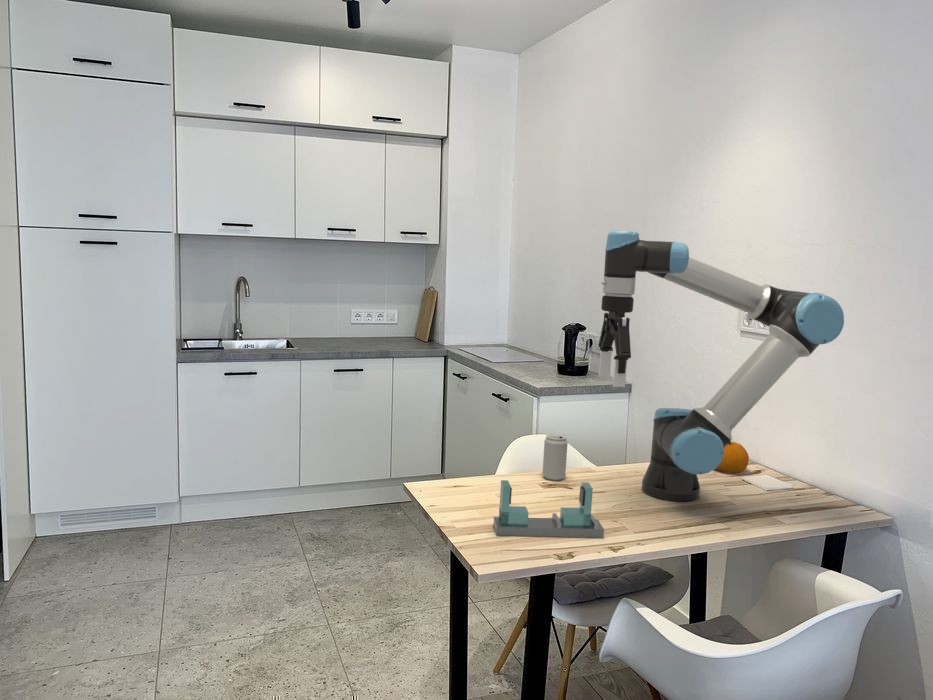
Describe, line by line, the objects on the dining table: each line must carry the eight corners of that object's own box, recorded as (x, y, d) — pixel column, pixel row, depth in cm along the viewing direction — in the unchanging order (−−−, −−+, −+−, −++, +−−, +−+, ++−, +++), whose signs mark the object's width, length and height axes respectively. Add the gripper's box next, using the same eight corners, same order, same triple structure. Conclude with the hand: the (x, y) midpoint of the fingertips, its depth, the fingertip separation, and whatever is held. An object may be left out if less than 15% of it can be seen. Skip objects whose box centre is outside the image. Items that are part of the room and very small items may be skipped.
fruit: (742, 478, 213) (746, 445, 212) (702, 470, 219) (705, 438, 218) (751, 469, 223) (754, 438, 221) (712, 462, 229) (715, 431, 228)
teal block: (585, 520, 166) (588, 482, 165) (589, 527, 162) (592, 488, 161) (559, 520, 166) (562, 481, 164) (563, 526, 162) (566, 487, 160)
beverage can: (564, 482, 200) (567, 440, 198) (541, 480, 201) (543, 437, 200) (565, 475, 206) (568, 434, 205) (543, 473, 208) (546, 432, 206)
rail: (596, 527, 167) (600, 481, 166) (603, 537, 162) (607, 490, 160) (493, 525, 166) (496, 478, 164) (496, 535, 160) (499, 487, 158)
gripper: (590, 291, 188) (584, 372, 191) (617, 297, 163) (609, 390, 166) (618, 293, 188) (612, 373, 191) (649, 299, 164) (641, 391, 166)
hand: (611, 381), depth 178 cm, fingers open, 13 cm apart
